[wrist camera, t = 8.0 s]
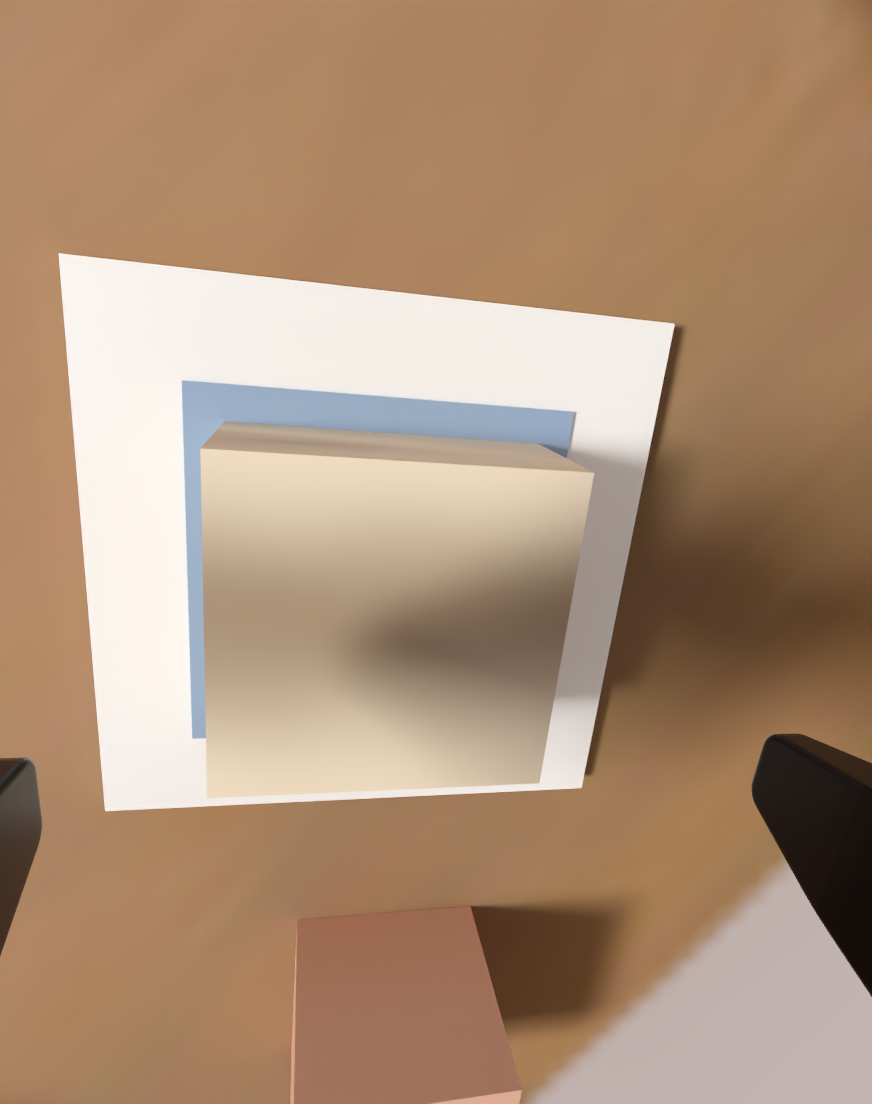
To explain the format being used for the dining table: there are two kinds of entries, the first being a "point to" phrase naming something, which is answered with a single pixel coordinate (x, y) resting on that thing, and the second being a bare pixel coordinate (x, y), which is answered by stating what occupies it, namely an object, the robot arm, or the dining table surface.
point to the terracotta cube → (397, 1013)
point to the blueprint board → (333, 403)
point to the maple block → (382, 607)
